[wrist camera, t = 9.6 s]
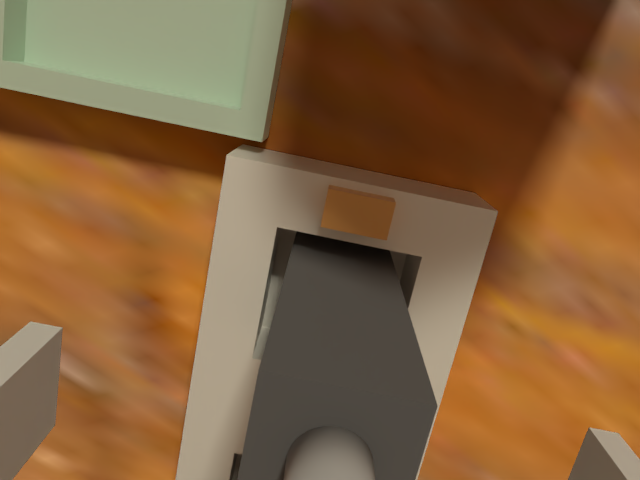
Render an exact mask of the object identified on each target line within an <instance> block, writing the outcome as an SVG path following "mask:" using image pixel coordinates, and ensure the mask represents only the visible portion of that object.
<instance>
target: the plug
mask: <svg viewBox="0 0 640 480" xmlns="http://www.w3.org/2000/svg"><path fill="white" fill-rule="evenodd" d="M437 406H438V405H437V402H436V399H435V396H434V392H433V389H432V386H431V383H430V379H429V376H428V373H427V370H426V366H425V363H424V360H423V357H422V354H421V350H420V347H419V344H418V341H417V337H416V334H415V331H414V328H413V324H412V321H411V318H410V315H409V311H408V308H407V305H406V302H405V298H404V295H403V292H402V289H401V285H400V282H399V279H398V276H397V272H396V269H395V266H394V263H393V259H392V256H391V253H390V250H386V249H381V248H376V247H371V246H366V245H361V244H357V243H352V242H347V241H342V240H337V239H332V238H327V237H322V236H318V235H313V234H308V233H303V232H298V231H297V232H296V235H295V239H294V243H293V246H292V250H291V254H290V257H289V261H288V265H287V268H286V272H285V276H284V279H283V283H282V286H281V290H280V294H279V297H278V301H277V305H276V308H275V312H274V316H273V319H272V323H271V327H270V330H269V334H268V338H267V341H266V345H265V348H264V352H263V356H262V359H261V363H260V367H259V370H258V375H257V381H256V386H255V391H254V396H253V401H252V406H251V412H250V417H249V422H248V427H247V432H246V437H245V442H244V448H243V453H242V458H241V463H240V468H239V473H238V479H237V480H415V479H416V476H417V473H418V469H419V466H420V463H421V459H422V456H423V453H424V449H425V446H426V443H427V439H428V436H429V433H430V429H431V426H432V423H433V420H434V416H435V413H436V410H437Z"/></svg>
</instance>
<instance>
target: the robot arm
mask: <svg viewBox="0 0 640 480" xmlns="http://www.w3.org/2000/svg"><path fill="white" fill-rule="evenodd" d="M62 329H63V328H62V327H56V326H51V325H46V324H41V323H35V322H29V323H28V324H27V325H26V326H25V327H23V328H22V329H21V330H20V331H19V332H17V333H16V334H15V335H14V336H13V337H11V338H10V339H9V340H8V341H6V342H5V343H4V344H3V345H2V346H0V480H12V479H13V478H14V477H15V476H16V474H17V473H18V472H19V471H20V469H21V468H22V467H23V465H24V464H25V463H26V462H27V460H28V459H29V458H30V456H31V455H32V454H33V453H34V451H35V450H36V449H37V447H38V446H39V445H40V444H41V442H42V441H43V440H44V438H45V437H46V436H47V435H48V433H49V432H50V431H51V430H52V428H53V427H54V426H55V420H56V407H57V394H58V381H59V368H60V355H61V342H62ZM568 480H640V459H639V458H638V457H637V456H636V454H635V453H634V452H633V451H632V449H631V448H630V447H629V446H628V445H627V443H626V442H625V441H624V440H623V438H622V437H621V436H620V435H619V433H615V432H610V431H605V430H599V429H594V428H589V429H588V431H587V433H586V436H585V438H584V441H583V443H582V446H581V448H580V451H579V453H578V456H577V458H576V461H575V463H574V466H573V468H572V471H571V473H570V476H569V478H568Z"/></svg>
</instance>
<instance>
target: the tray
mask: <svg viewBox="0 0 640 480" xmlns="http://www.w3.org/2000/svg"><path fill="white" fill-rule="evenodd" d="M291 6H292V0H0V88H5V89H10V90H15V91H19V92H24V93H29V94H34V95H38V96H43V97H48V98H53V99H58V100H62V101H67V102H72V103H77V104H81V105H86V106H91V107H96V108H100V109H105V110H110V111H115V112H120V113H124V114H129V115H134V116H139V117H143V118H148V119H153V120H158V121H163V122H167V123H172V124H177V125H182V126H186V127H191V128H196V129H201V130H205V131H210V132H215V133H220V134H225V135H229V136H234V137H239V138H244V139H248V140H253V141H258V142H263V141H264V140H265V139H267V138H268V136H269V130H270V125H271V119H272V113H273V108H274V102H275V96H276V91H277V85H278V79H279V74H280V68H281V62H282V57H283V51H284V45H285V40H286V34H287V28H288V23H289V17H290V11H291Z"/></svg>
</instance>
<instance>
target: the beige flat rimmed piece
mask: <svg viewBox="0 0 640 480" xmlns="http://www.w3.org/2000/svg"><path fill="white" fill-rule="evenodd" d="M497 214H498V211H497V210H496V209H495V208H493V207H492V206H491V205H490V204H488V203H487V202H486V201H485V200H483V199H482V198H481V197H480V196H478V195H477V194H476V193H473V192H469V191H464V190H459V189H454V188H450V187H445V186H440V185H435V184H430V183H426V182H421V181H416V180H411V179H407V178H402V177H397V176H392V175H387V174H383V173H378V172H373V171H368V170H364V169H359V168H354V167H349V166H344V165H340V164H335V163H330V162H325V161H321V160H316V159H311V158H306V157H301V156H297V155H292V154H287V153H282V152H278V151H273V150H268V149H263V148H258V147H254V146H249V145H244V144H242V145H241V146H239V147H238V148H236V149H235V150H233V151H232V152H230V153H229V154H227V155H226V161H225V168H224V174H223V181H222V187H221V193H220V200H219V206H218V212H217V219H216V225H215V232H214V238H213V244H212V251H211V257H210V263H209V270H208V276H207V283H206V289H205V295H204V302H203V308H202V314H201V321H200V327H199V334H198V340H197V346H196V353H195V359H194V365H193V372H192V378H191V385H190V391H189V397H188V404H187V410H186V416H185V423H184V429H183V436H182V442H181V448H180V455H179V461H178V467H177V474H176V480H237V479H238V473H239V468H240V463H241V458H242V453H243V448H244V442H245V437H246V432H247V427H248V422H249V417H250V412H251V406H252V401H253V396H254V391H255V386H256V381H257V375H258V370H259V367H260V363H261V359H262V356H263V352H264V348H265V345H266V341H267V338H268V334H269V330H270V327H271V323H272V319H273V316H274V312H275V308H276V305H277V301H278V297H279V294H280V290H281V286H282V283H283V279H284V276H285V272H286V268H287V265H288V261H289V257H290V254H291V250H292V246H293V243H294V239H295V235H296V232H297V231H298V232H303V233H308V234H313V235H318V236H322V237H327V238H332V239H337V240H342V241H347V242H352V243H357V244H361V245H366V246H371V247H376V248H381V249H386V250H390V253H391V256H392V259H393V263H394V266H395V269H396V272H397V276H398V279H399V282H400V285H401V289H402V292H403V295H404V298H405V302H406V305H407V308H408V311H409V315H410V318H411V321H412V324H413V328H414V331H415V334H416V337H417V341H418V344H419V347H420V350H421V354H422V357H423V360H424V363H425V366H426V370H427V373H428V376H429V379H430V383H431V386H432V389H433V392H434V396H435V399H436V402H437V405H438V406H437V410H436V413H435V416H434V420H433V423H432V426H431V429H430V433H429V436H428V439H427V443H426V446H425V449H424V453H423V456H422V459H421V463H420V466H419V469H418V473H417V476H416V479H415V480H417V478H418V475H419V472H420V468H421V465H422V462H423V458H424V455H425V452H426V449H427V445H428V442H429V439H430V435H431V432H432V429H433V425H434V422H435V419H436V416H437V412H438V409H439V406H440V402H441V399H442V396H443V392H444V389H445V386H446V383H447V379H448V376H449V373H450V369H451V366H452V363H453V359H454V356H455V353H456V349H457V346H458V343H459V340H460V336H461V333H462V330H463V326H464V323H465V320H466V316H467V313H468V310H469V307H470V303H471V300H472V297H473V293H474V290H475V287H476V283H477V280H478V277H479V274H480V270H481V267H482V264H483V260H484V257H485V254H486V250H487V247H488V244H489V240H490V237H491V234H492V231H493V227H494V224H495V221H496V217H497Z"/></svg>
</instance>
